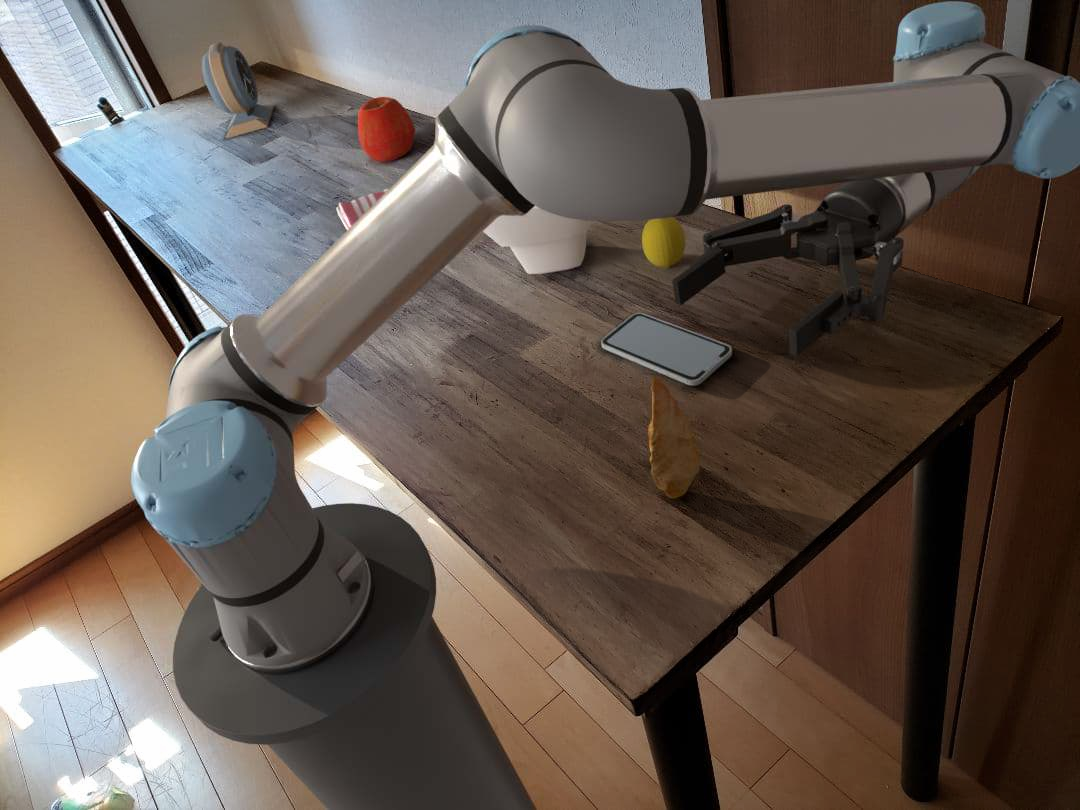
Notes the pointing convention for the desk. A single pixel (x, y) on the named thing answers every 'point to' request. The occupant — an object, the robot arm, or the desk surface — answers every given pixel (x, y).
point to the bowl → (542, 240)
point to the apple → (385, 129)
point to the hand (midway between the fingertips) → (731, 316)
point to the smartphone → (667, 348)
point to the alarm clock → (234, 89)
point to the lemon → (663, 241)
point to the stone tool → (671, 444)
